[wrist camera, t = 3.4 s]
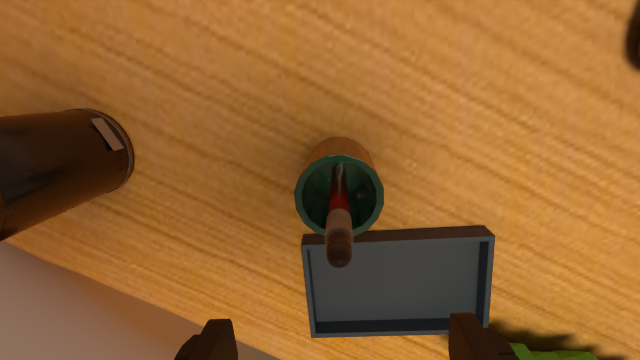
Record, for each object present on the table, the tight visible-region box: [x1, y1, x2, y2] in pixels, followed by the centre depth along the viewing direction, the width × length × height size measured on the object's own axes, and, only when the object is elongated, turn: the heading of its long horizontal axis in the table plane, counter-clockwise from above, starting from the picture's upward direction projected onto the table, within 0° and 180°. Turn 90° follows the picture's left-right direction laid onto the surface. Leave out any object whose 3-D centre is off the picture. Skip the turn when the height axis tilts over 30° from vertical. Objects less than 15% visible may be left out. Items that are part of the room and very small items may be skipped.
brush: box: [325, 165, 353, 268], centre depth 25 cm, size 2×2×18 cm
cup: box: [294, 137, 384, 237], centre depth 30 cm, size 7×7×9 cm
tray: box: [301, 226, 495, 338], centre depth 37 cm, size 20×12×3 cm, turn 95°
